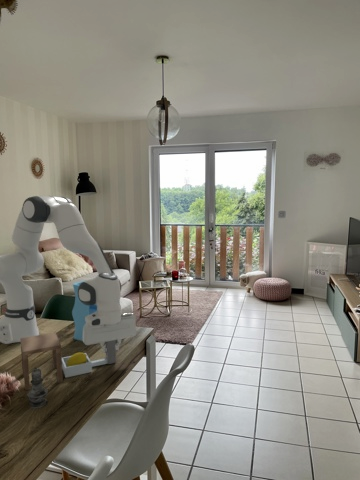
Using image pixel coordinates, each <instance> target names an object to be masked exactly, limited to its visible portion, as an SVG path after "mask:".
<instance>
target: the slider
mask: <svg viewBox="0 0 360 480" xmlns="http://www.w3.org/2000/svg"><path fill="white" fill-rule="evenodd" d="M104 345H105V347H107V353H105V358H100V359H97V360H91V359H90V358H89V355H88V354H87V352H84V354H86V355H87V356H86V358H87V360H86V363H84V364H79V365H74V366H69V367H67V366H68V364H67V363H68V360H69V358H70V357H71V356H72V355H69V356H64V357H63V356H62V373H63V376H64V377H65V378H70V377H75V376H80V375H84V374H88V373H92V372H93V367H97V366H104V365H106V364H107V365H111V364H117V359H116V358H117V355H116V354H117V353H116V352H117V351H116V348H115V345H116V340H112V341H107V342H104Z"/></svg>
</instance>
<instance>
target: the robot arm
mask: <svg viewBox="0 0 360 480" xmlns="http://www.w3.org/2000/svg"><path fill="white" fill-rule="evenodd" d="M45 224H54V226H55V227H56V228H55V229H56V232H57V234H58V238H59V242H60V244H62V246H63V247H64V249H66V250H67V251H69V252H72V253H75V254H79V255H83V256H85V257H87V258H88V259H89V260H91V262H92V264H93V265H94V267H95V270H96V271H97V274H98V275H97V276H95V277H93V278H92V279H88V280H87V279H86V280H87V281H85V280H83V281H84V282H82V283H81V284H80V285H79V287H78V298H79V300H80V301H81V302H82V303H83V304H85V305H97V311H96V312H94V313H92V314H90V315H88V316H86V317H85V322H86V324H85V325H84V327H83V341H82V343H83V344H84V345H85V346H91V345H95V344H98V345H100V347H101V348H102V353H103V354H106V353H107V347H106V346H105V342H107V341H112V340H115V341H116V342H115V348H116V352H117V351H119V350H120V348H119V347H120V345H121V343H122V340H124V339H128V338H133V337H135V336H136V335H137V326H136V322H137V317H136V314H135V313H132V312H128V313H127V312H126V313H122V305H121V296H122V295H121V292H122V283H121V281H120V280H121V279H119V276H118V275H117V274H116V273H115V272H114V270H113V268H112V266H111V264H110V262H109V260H108V258H107V256H106V254H105V252H104V250H103V248H102V246H101V245H100V243H99V242H98V241H97V240H96V239H94V237H92V235H91V234H90V232H89V231H88V228H87V226H86V224H85V221H84V219H83V216H82V214H81V212H80V210H79V209H78V207H77V206H76V204H74V201H72V200H71V199H70V198H68V197H64V196H56V195H43V196H41V195H40V196H37V195H35V196H34V195H33V196H29V197H27V198H26V199H25V200H24V201H23V203H22V207H21V209H20V211H19V213H18V216H17V218H16V222H15V225H14V228H13V232H12V235H11V240H12V243H13V244H14V245H15V246H16V247H17V250H16V251H15V252H10V253H6V254H0V284H1V286H2V287H3V290H4V292H5V298H6V299H5V301H6V307H5V308H3V309H2V311H3V312H4V315H3V316H2V317H1V318H0V343H2V344H5V345H9V344H12V343H13V344H15V343H21V341H20V338H25V337H31V336H37V335H40V332H39V331H40V329H39V327H38V323H37V317H36V314H35V313H36V306H35V303H34V293H33V291H34V290H33V289H32V286H30V285H28V284H27V283H25V282H24V279H23V276H28V275H32V274H35V273H36V272H39V271H40V270H42V269H43V267H44V264H45V263H44V262H45V259H44V256H43V254H42V253H41V252H40V250H39V244H40V240H41V236H42V233H43V230H44V227H45ZM123 338H124V339H123Z"/></svg>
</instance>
